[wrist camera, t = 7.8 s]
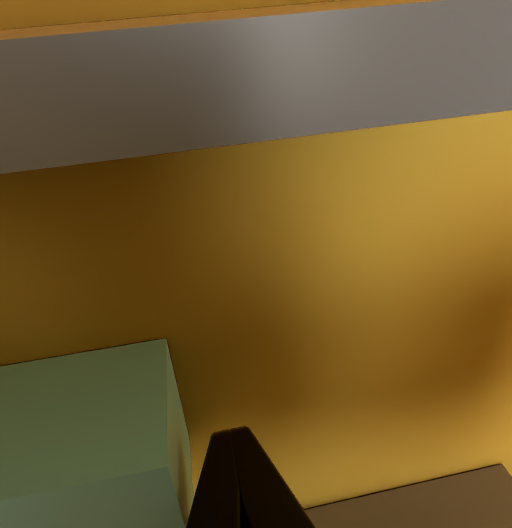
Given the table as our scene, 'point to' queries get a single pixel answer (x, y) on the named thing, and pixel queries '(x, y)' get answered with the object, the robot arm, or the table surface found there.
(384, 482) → the table surface
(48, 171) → the table surface
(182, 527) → the t block
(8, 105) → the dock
